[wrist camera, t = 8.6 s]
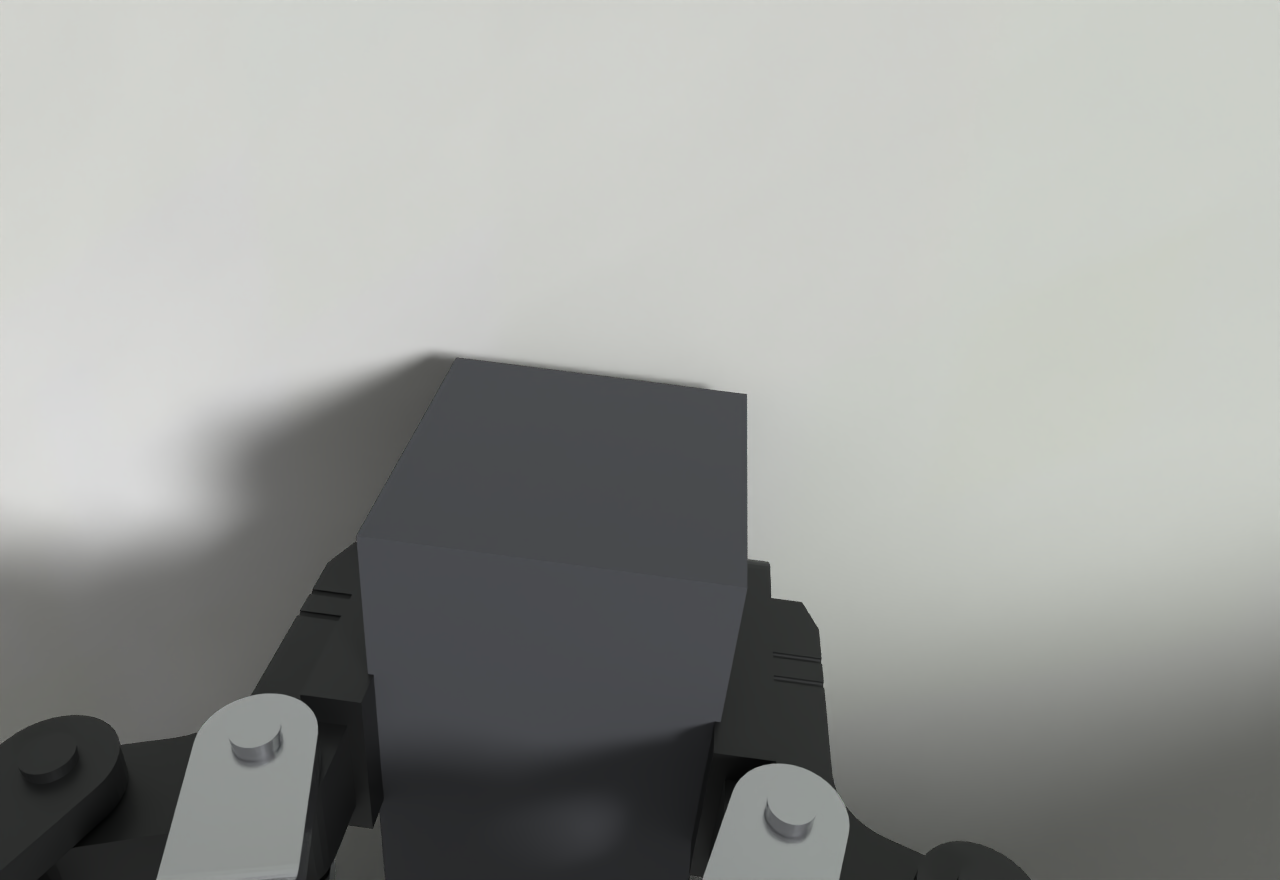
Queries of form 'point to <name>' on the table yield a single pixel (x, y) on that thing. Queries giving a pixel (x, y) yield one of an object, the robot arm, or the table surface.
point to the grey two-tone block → (553, 623)
